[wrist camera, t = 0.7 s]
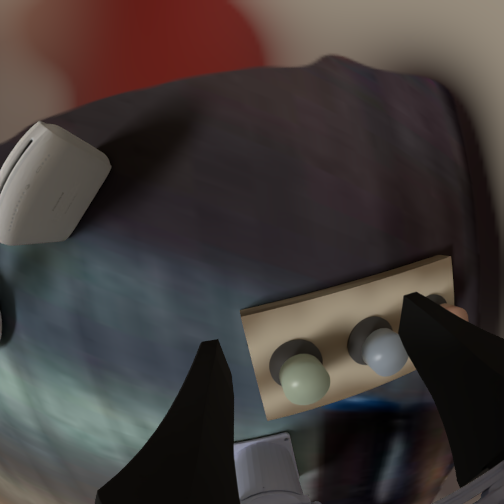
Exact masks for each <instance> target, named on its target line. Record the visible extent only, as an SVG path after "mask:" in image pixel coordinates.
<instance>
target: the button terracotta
mask: <svg viewBox="0 0 504 504" xmlns="http://www.w3.org/2000/svg"><path fill="white" fill-rule="evenodd" d="M440 306H442V307H444V308H445V309H447V310H448V311H450V312H452V313H454V314H455V315H457V316H459V317H460V318H462V319H464V320H466V321H467V322H468V315H467V313H466V311H465V310H464V309H462V308H459V307H456V306H453V305H450V304H447V303H444V304H441V305H440Z"/></svg>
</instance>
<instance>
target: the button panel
mask: <svg viewBox="0 0 504 504" xmlns="http://www.w3.org/2000/svg"><path fill="white" fill-rule="evenodd" d="M413 292H418V293H420V294H422V295H424V296H425V297H427V298H429V299H430V300H432V301H434V302H435V303H437V304H439V305H441V304H444V303H447V304H450V305H453V306H454V287H453V273H452V262H451V256H444V255H436V256H433V257H430V258H427V259H424V260H421V261H418V262H415V263H412V264H409V265H406V266H402V267H399V268H396V269H393V270H389V271H386V272H383V273H379V274H376V275H373V276H369V277H366V278H362V279H359V280H355V281H352V282H348V283H345V284H341V285H338V286H334V287H330V288H327V289H323V290H319V291H316V292H312V293H308V294H304V295H300V296H296V297H293V298H289V299H285V300H281V301H277V302H272V303H268V304H264V305H260V306H256V307H252V308H247V309H243V310H240V314H241V319H242V323H243V327H244V331H245V335H246V339H247V343H248V347H249V351H250V355H251V359H252V363H253V367H254V371H255V375H256V379H257V383H258V386H259V390H260V394H261V398H262V402H263V405H264V409H265V413H266V417H267V420H268V421H269V420H273V419H277V418H281V417H285V416H289V415H293V414H296V413H300V412H304V411H307V410H311V409H314V408H317V407H321V406H324V405H327V404H330V403H333V402H336V401H339V400H342V399H345V398H348V397H351V396H353V395H356V394H359V393H362V392H364V391H367V390H370V389H372V388H375V387H377V386H380V385H382V384H385V383H387V382H389V381H392V380H394V379H396V378H399V377H401V376H403V375H406V374H408V373H410V372H412V371H414V370H416V368H415V366H414V365H413V363H412V361H411V360H410V358H409V357H408V360H407V362H406V364H405V365H404V366H403V368H402V369H401V370H400V371H398V372H397V373H396V374H394V375H391V376H387V377H384V376H380V375H378V374H377V373H376V372H375V371H374V370H372V369H371V368H370V367H369V366H368V365H367V364H366V363H365V362H364V360H363V358H362V346H363V344H364V342H365V340H366V338H367V337H368V336H369V335H370V334H371V333H372V332H374V331H375V330H377V329H380V328H388V329H390V330H392V331H394V332H395V333H397V334H398V330H399V324H400V318H401V311H402V304H403V296H404V295H407V294H410V293H413ZM298 354H310V355H313V356H315V357H316V358H317V359H318V360H319V361H320V362H321V364H322V365H323V367H324V368H325V369H326V371H327V372H328V374H329V376H330V387H329V390H328V391H327V393H326V394H325V396H324V397H323V398H321V399H320V400H319V401H317V402H315V403H313V404H309V405H297V404H294V403H292V402H291V401H289V400H288V399H287V397H286V396H285V393H284V391H283V388H282V385H281V383H280V379H279V372H280V369H281V367H282V365H283V364H284V363H285V362H286V361H287V360H288V359H289V358H291V357H293V356H295V355H298Z"/></svg>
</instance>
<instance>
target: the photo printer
mask: <svg viewBox="0 0 504 504" xmlns="http://www.w3.org/2000/svg"><path fill="white" fill-rule="evenodd" d="M110 170H111V165H110V162H109V159H108V157H107V156H106V155H105V154H104V153H102V152H101V151H99V150H98V149H96V148H94V147H93V146H91V145H89V144H88V143H86V142H84V141H83V140H81V139H79V138H78V137H76V136H74V135H73V134H71V133H69V132H68V131H66V130H65V129H63V128H61V127H59V126H57V125H53V124H45V123H44V122H41V121H38V122H37V123H36V124H35V125H34V126H33V127H32V128H30V129H29V130H28V131H27V133H26V134H25V135H24V136H23V137H22V138H21V139H20V141H19V142H18V143H17V144H16V146H15V147H14V149H13V150H12V151H11V153H10V154H9V156H8V158H7V159H6V161H5V163H4V164H3V166H2V168H1V170H0V243H3V244H6V245H25V244H37V243H49V242H60V241H65V240H66V239H67V238H68V237H69V236H70V235H71V233H72V232H73V230H74V229H75V227H76V226H77V224H78V223H79V221H80V219H81V218H82V216H83V215H84V213H85V211H86V210H87V208H88V206H89V205H90V203H91V202H92V200H93V198H94V197H95V195H96V193H97V192H98V190H99V189H100V187H101V185H102V184H103V182H104V181H105V179H106V177H107V176H108V174H109V172H110Z"/></svg>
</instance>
